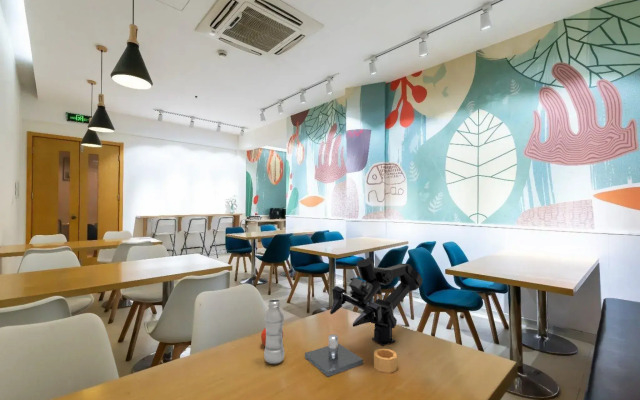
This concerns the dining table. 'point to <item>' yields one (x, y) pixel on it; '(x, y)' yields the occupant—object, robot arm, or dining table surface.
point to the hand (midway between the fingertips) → (341, 319)
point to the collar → (385, 360)
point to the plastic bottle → (274, 333)
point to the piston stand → (333, 358)
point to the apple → (263, 336)
